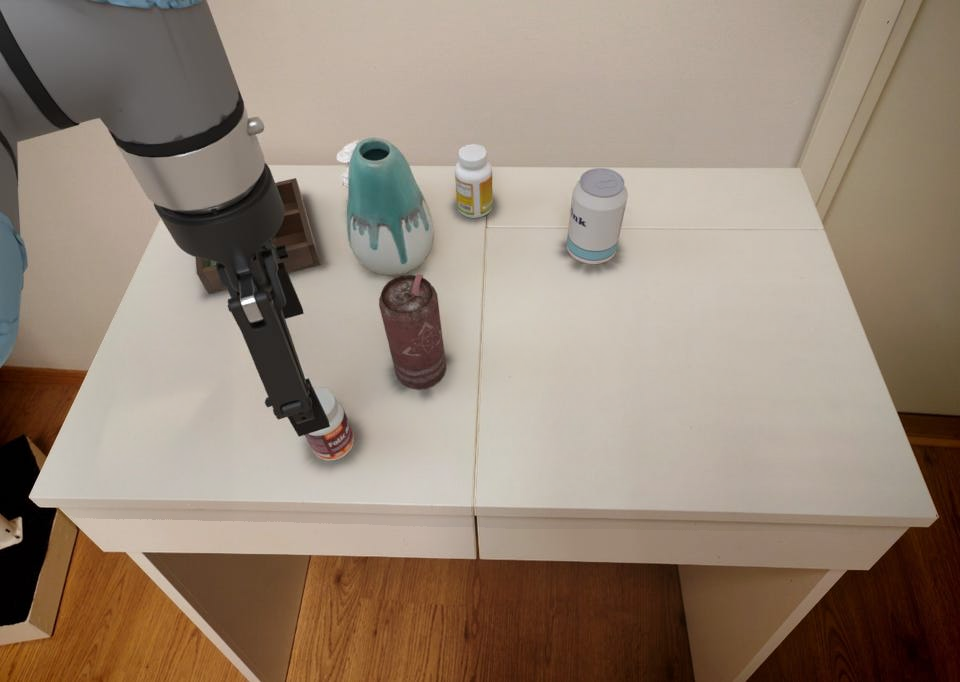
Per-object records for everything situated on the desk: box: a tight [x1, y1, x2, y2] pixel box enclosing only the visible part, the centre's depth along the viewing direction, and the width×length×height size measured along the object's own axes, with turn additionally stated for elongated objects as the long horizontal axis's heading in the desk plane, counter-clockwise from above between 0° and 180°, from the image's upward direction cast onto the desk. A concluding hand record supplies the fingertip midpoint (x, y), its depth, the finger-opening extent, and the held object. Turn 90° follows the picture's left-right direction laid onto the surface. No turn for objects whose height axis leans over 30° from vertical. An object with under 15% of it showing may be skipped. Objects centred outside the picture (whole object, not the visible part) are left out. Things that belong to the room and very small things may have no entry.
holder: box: [194, 177, 321, 295], centre depth 85 cm, size 15×15×4 cm
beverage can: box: [566, 167, 629, 265], centre depth 79 cm, size 7×7×12 cm
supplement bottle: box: [454, 143, 494, 219], centre depth 86 cm, size 5×5×10 cm
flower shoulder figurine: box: [336, 140, 361, 189], centre depth 86 cm, size 9×4×12 cm, turn 1°
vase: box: [345, 137, 435, 276], centre depth 77 cm, size 12×12×18 cm
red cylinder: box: [378, 274, 447, 390], centre depth 66 cm, size 6×6×14 cm
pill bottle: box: [304, 386, 355, 462], centre depth 63 cm, size 5×5×8 cm
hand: (301, 367), depth 55 cm, fingers open, 13 cm apart
